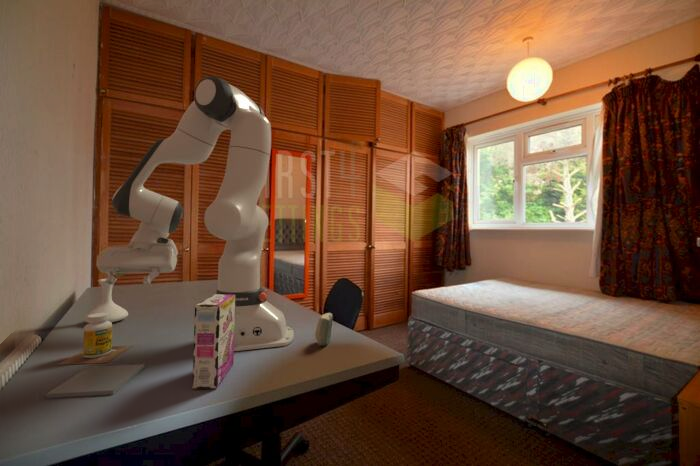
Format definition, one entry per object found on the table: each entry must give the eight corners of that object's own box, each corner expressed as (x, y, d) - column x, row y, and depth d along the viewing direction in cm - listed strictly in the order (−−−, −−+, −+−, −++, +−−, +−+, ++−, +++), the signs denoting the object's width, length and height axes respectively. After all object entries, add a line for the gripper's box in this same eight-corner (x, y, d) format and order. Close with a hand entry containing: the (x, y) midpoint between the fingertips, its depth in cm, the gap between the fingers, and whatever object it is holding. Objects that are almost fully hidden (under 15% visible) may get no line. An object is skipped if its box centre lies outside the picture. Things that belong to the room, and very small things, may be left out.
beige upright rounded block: (337, 346, 82) (337, 316, 82) (318, 349, 80) (319, 318, 80) (330, 339, 87) (330, 311, 87) (312, 341, 85) (313, 313, 85)
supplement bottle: (101, 348, 77) (101, 311, 77) (117, 351, 76) (118, 312, 76) (77, 357, 72) (77, 316, 72) (94, 360, 70) (95, 318, 70)
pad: (144, 367, 67) (144, 364, 67) (113, 394, 56) (113, 390, 56) (89, 370, 66) (89, 366, 66) (46, 398, 55) (46, 393, 55)
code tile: (132, 346, 79) (132, 345, 79) (107, 362, 69) (107, 362, 69) (89, 347, 78) (89, 347, 78) (58, 364, 68) (58, 364, 68)
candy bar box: (218, 389, 59) (219, 305, 59) (191, 390, 58) (192, 305, 58) (235, 364, 70) (236, 293, 70) (212, 364, 70) (213, 293, 70)
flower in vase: (74, 324, 96) (75, 245, 96) (112, 315, 107) (113, 244, 107) (104, 329, 92) (105, 247, 92) (140, 319, 103) (141, 245, 103)
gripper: (105, 239, 91) (80, 276, 82) (177, 240, 94) (162, 276, 85) (114, 252, 96) (92, 289, 86) (183, 253, 99) (169, 289, 89)
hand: (127, 283), depth 86 cm, fingers open, 8 cm apart
